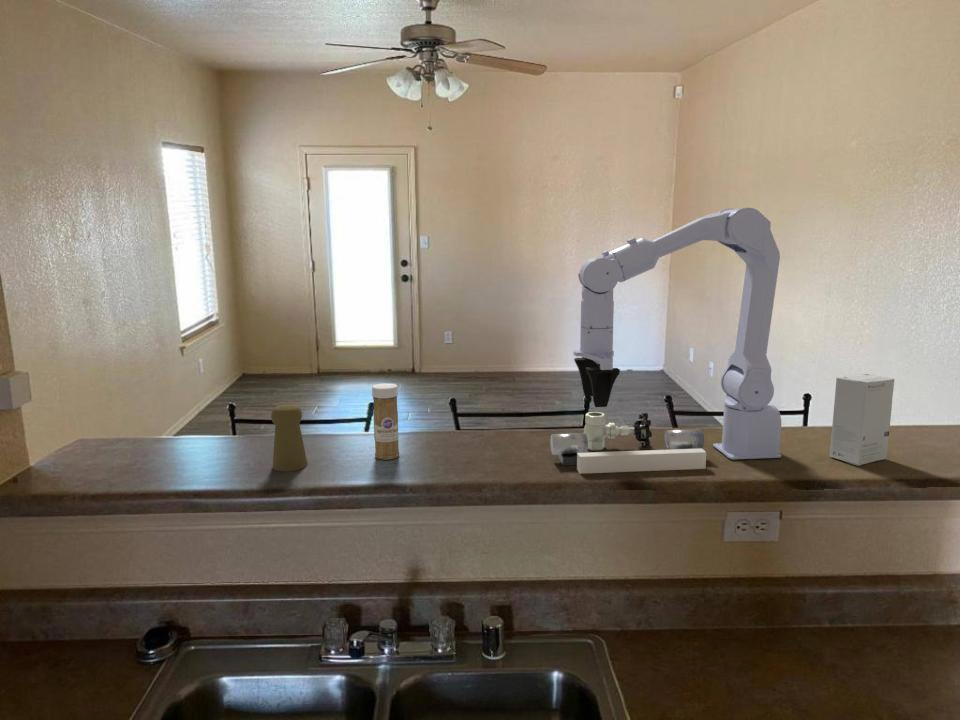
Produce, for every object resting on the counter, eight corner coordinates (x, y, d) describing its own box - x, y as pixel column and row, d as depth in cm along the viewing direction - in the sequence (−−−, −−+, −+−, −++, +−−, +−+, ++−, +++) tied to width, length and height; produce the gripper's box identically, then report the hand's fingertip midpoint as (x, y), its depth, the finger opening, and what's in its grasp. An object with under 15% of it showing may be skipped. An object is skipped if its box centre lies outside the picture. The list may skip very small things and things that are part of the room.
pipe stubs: (694, 452, 128) (696, 426, 127) (704, 460, 124) (705, 433, 123) (549, 457, 126) (550, 430, 125) (554, 465, 122) (554, 438, 121)
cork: (313, 461, 125) (310, 402, 123) (296, 472, 120) (292, 411, 118) (284, 458, 127) (280, 400, 125) (265, 469, 121) (261, 409, 119)
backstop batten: (700, 464, 121) (701, 448, 121) (705, 468, 119) (706, 452, 119) (576, 469, 120) (577, 452, 119) (579, 473, 118) (579, 456, 117)
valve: (587, 453, 128) (651, 452, 129) (588, 419, 127) (652, 417, 128) (580, 442, 135) (641, 441, 135) (580, 409, 133) (642, 408, 134)
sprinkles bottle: (380, 462, 124) (377, 389, 122) (371, 455, 128) (367, 384, 126) (404, 457, 127) (401, 386, 124) (393, 451, 131) (391, 381, 128)
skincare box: (858, 467, 120) (867, 383, 117) (827, 457, 125) (834, 376, 122) (888, 459, 123) (897, 377, 121) (856, 449, 129) (864, 371, 126)
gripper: (566, 321, 130) (565, 392, 132) (584, 333, 115) (582, 412, 118) (603, 320, 130) (601, 391, 133) (625, 332, 116) (623, 411, 119)
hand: (595, 401), depth 125 cm, fingers open, 7 cm apart
